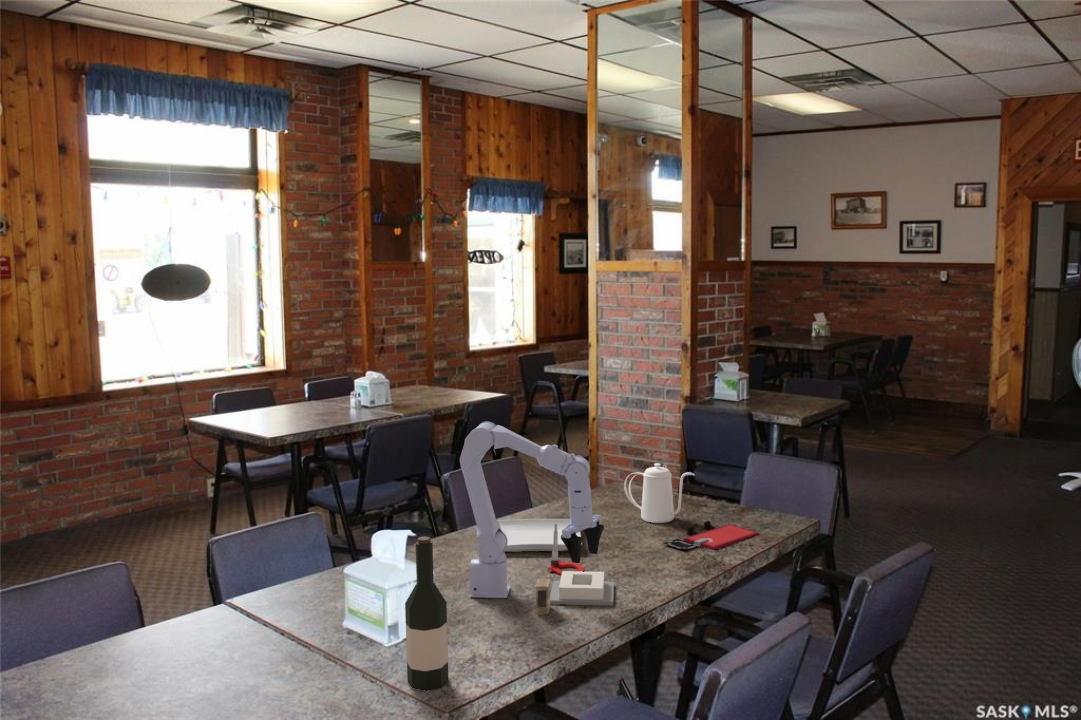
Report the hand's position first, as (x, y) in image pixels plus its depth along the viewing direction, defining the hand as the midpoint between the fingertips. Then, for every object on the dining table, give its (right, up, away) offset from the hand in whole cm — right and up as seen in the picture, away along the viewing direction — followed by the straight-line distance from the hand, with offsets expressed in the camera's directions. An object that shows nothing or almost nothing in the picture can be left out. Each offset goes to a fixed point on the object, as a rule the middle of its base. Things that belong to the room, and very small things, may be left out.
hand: (584, 557), depth 226 cm
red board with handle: (+40, -5, +47) cm, 62 cm away
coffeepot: (+28, -3, +69) cm, 74 cm away
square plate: (-12, -6, +48) cm, 50 cm away
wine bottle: (-34, -16, -44) cm, 58 cm away
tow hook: (-4, -8, +21) cm, 23 cm away
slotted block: (-1, -10, +2) cm, 10 cm away
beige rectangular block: (-11, -11, -8) cm, 17 cm away
